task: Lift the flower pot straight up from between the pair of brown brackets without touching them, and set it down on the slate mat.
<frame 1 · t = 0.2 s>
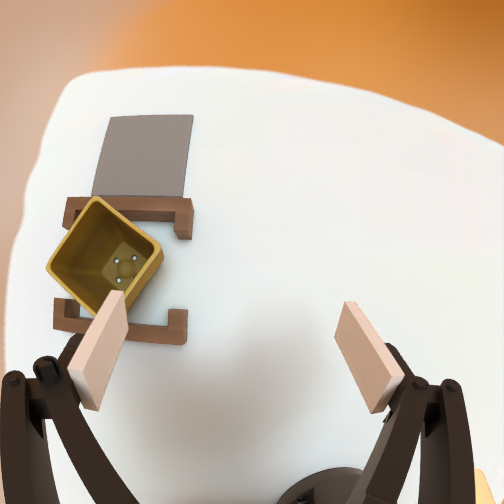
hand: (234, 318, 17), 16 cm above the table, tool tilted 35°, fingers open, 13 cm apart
pair of brown brackets: (126, 270, 32), on the table
flower pot: (127, 270, 32), on the table
slate mat: (142, 154, 35), on the table
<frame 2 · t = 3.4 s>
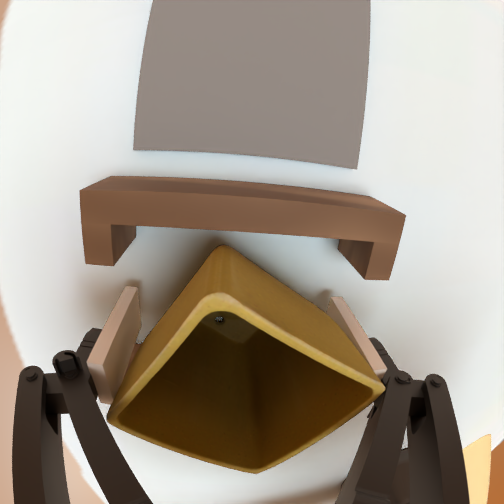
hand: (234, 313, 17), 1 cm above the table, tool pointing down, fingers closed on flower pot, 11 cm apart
cone light: (452, 465, 44), on the table
pair of brown brackets: (233, 302, 18), on the table
flower pot: (233, 300, 19), on the table, touching gripper
slate mat: (259, 48, 13), on the table
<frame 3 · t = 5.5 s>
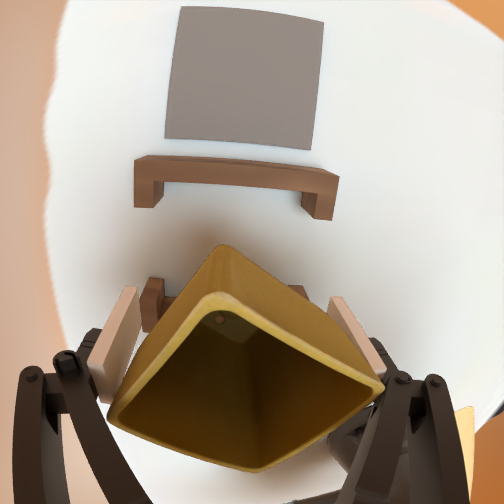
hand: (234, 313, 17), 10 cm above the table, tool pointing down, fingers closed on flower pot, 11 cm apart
cone light: (437, 437, 53), on the table
pair of brown brackets: (229, 243, 27), on the table
flower pot: (233, 300, 19), point 9 cm above the table, touching gripper
slate mat: (245, 72, 21), on the table
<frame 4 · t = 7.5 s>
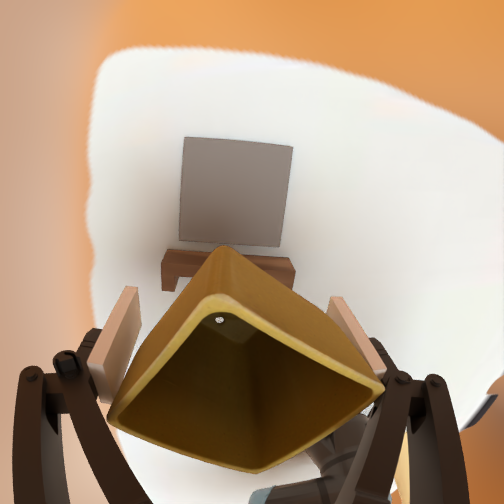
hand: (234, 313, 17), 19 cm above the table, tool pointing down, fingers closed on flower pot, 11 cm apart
cone light: (407, 444, 63), on the table
pair of brown brackets: (224, 306, 39), on the table
flower pot: (233, 301, 19), point 18 cm above the table, touching gripper
slate mat: (233, 192, 34), on the table
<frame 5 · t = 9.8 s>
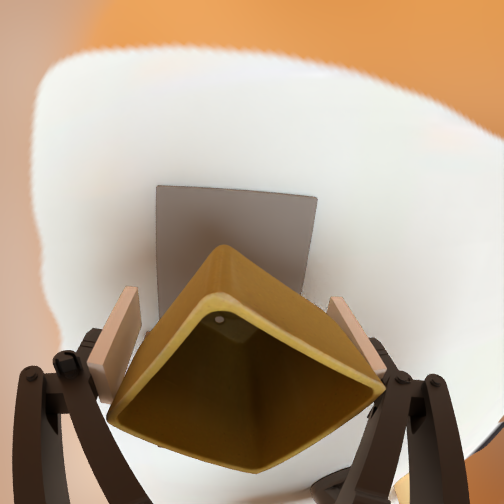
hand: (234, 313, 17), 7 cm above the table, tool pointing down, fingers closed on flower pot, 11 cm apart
cone light: (416, 476, 54), on the table
flower pot: (233, 300, 19), point 6 cm above the table, touching gripper
slate mat: (231, 263, 24), on the table
when the fingers open (3 cm above the table, at t = 11.7 s): flower pot drops 1 cm, resting on slate mat.
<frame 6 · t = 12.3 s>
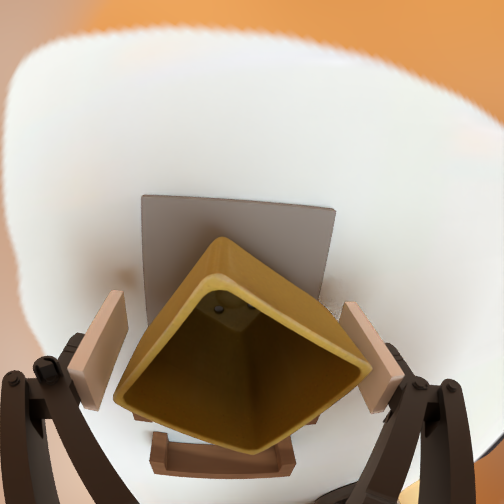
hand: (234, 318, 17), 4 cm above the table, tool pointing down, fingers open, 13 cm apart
cone light: (420, 485, 51), on the table
pair of brown brackets: (223, 417, 26), on the table
flower pot: (232, 291, 20), resting on slate mat
slate mat: (232, 286, 20), on the table
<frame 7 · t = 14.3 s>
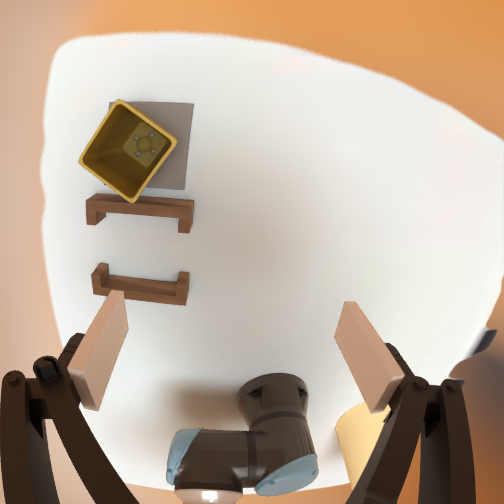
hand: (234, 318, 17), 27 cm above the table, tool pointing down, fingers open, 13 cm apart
cone light: (359, 423, 70), on the table
pair of brown brackets: (142, 244, 43), on the table
flower pot: (145, 145, 37), resting on slate mat
slate mat: (146, 144, 37), on the table
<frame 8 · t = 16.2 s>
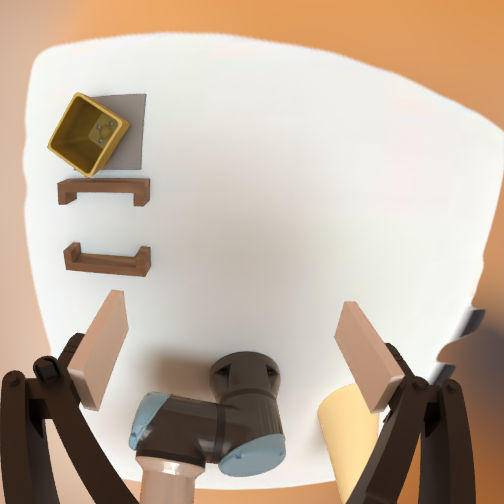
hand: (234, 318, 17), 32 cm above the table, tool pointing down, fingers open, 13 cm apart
cone light: (343, 410, 71), on the table
pair of brown brackets: (107, 222, 45), on the table
flower pot: (106, 132, 40), resting on slate mat
slate mat: (108, 132, 40), on the table
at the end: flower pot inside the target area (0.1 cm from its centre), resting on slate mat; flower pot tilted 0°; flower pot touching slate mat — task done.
